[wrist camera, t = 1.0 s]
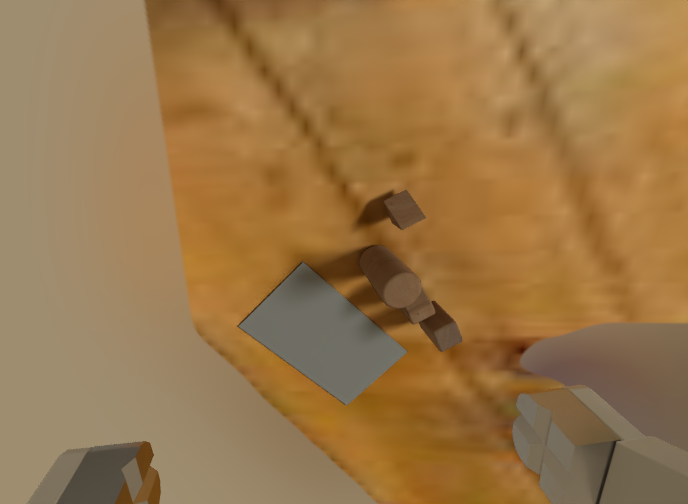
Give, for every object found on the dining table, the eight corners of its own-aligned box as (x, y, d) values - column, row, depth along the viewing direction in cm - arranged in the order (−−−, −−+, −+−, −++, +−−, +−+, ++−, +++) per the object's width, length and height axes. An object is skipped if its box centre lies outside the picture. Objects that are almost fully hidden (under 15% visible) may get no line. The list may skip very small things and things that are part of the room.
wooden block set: (448, 306, 52) (489, 345, 42) (391, 335, 51) (420, 381, 42) (401, 187, 45) (437, 201, 36) (337, 219, 45) (356, 242, 35)
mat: (303, 261, 47) (303, 262, 46) (407, 351, 53) (407, 352, 53) (238, 325, 48) (238, 326, 48) (346, 404, 55) (346, 405, 55)
